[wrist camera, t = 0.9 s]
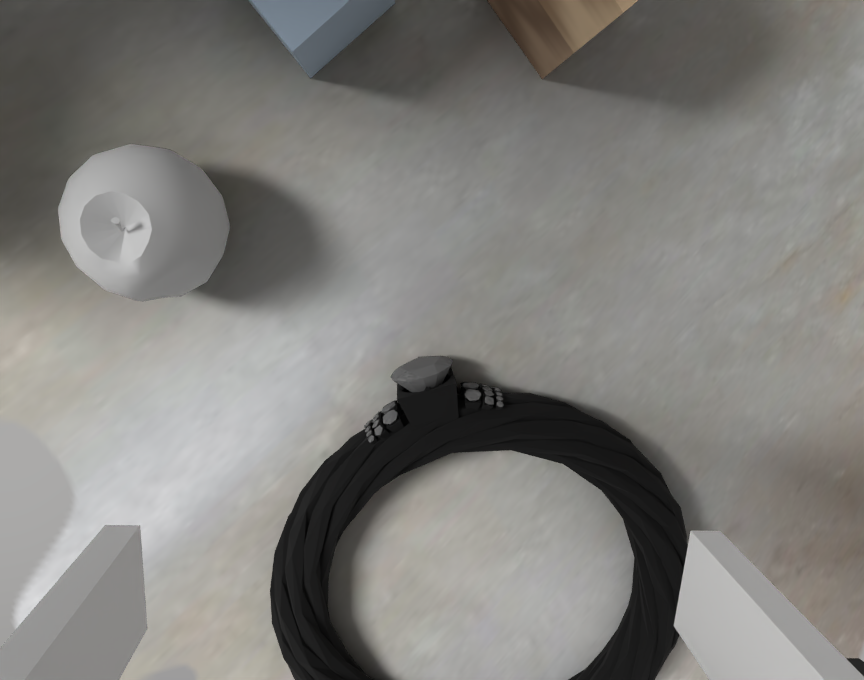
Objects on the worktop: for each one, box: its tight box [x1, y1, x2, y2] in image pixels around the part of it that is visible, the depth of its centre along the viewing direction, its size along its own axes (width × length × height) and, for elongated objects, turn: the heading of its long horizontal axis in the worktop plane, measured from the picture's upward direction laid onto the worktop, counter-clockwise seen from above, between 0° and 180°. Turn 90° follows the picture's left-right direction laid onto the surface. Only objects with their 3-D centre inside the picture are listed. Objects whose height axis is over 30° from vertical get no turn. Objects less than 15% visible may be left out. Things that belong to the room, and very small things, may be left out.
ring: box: [270, 356, 688, 680], centre depth 38 cm, size 28×4×30 cm
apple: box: [58, 144, 230, 301], centre depth 29 cm, size 8×8×8 cm
